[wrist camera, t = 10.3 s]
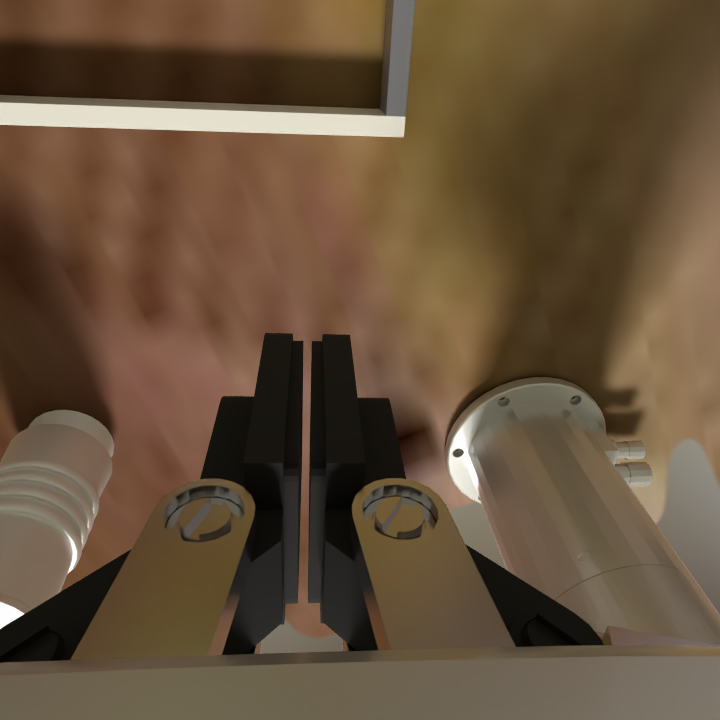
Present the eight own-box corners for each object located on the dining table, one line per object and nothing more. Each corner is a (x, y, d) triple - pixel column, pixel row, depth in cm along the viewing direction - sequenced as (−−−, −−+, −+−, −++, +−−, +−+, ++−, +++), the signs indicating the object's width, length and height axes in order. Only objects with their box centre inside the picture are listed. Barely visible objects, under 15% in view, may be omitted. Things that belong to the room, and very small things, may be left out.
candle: (59, 490, 43) (-38, 690, 30) (-3, 424, 40) (-144, 621, 27) (140, 460, 42) (74, 653, 30) (84, 390, 39) (-18, 576, 26)
